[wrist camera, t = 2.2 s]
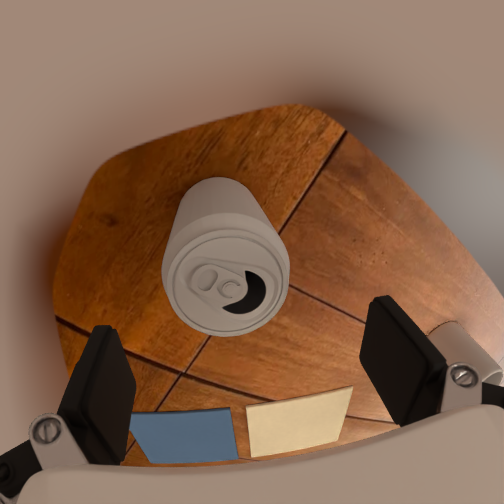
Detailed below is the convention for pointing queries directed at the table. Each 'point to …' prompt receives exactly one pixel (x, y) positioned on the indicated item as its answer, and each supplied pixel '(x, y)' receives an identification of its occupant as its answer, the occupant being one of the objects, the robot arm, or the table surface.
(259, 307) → the beverage can
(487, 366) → the mug
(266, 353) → the table surface
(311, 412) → the cream mat
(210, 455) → the blue mat
